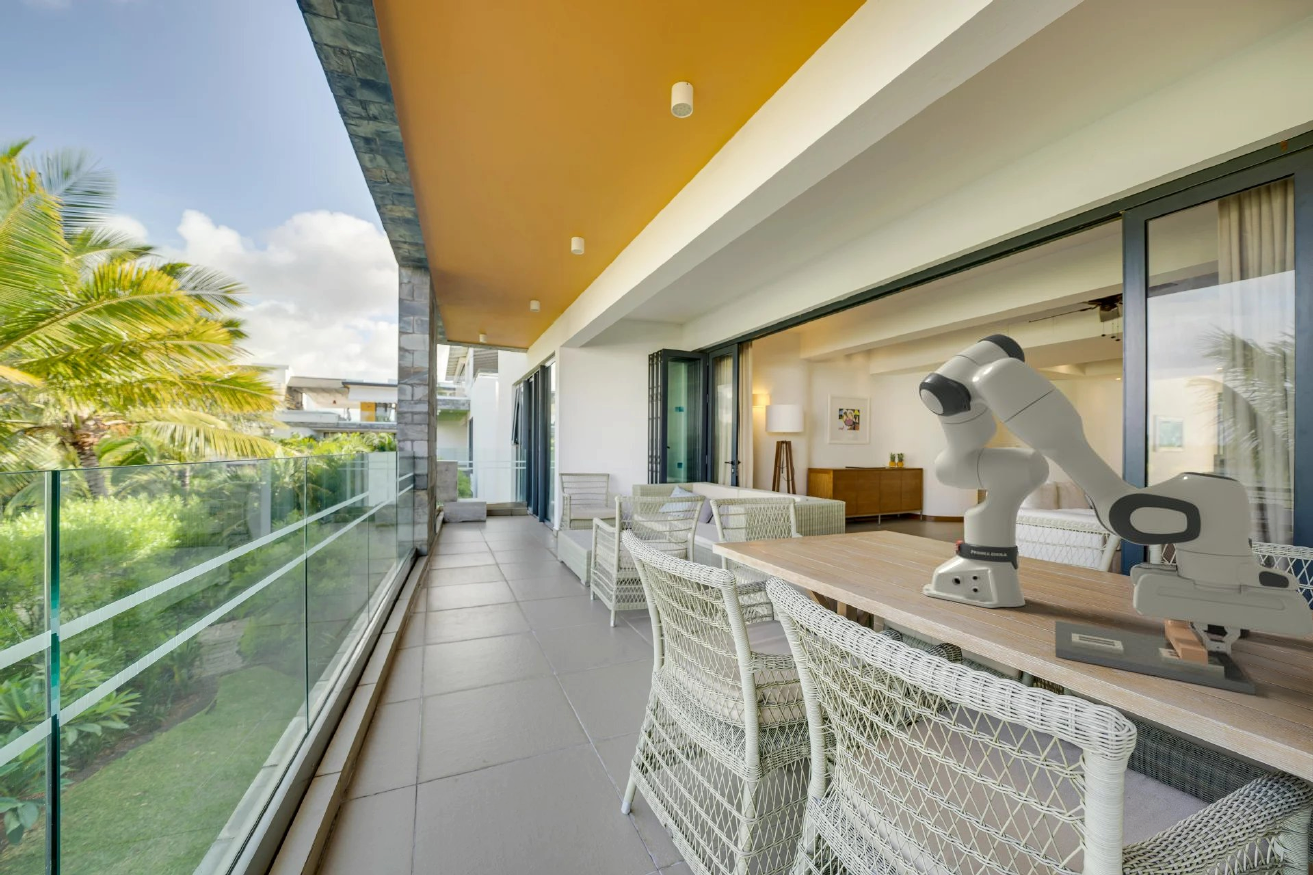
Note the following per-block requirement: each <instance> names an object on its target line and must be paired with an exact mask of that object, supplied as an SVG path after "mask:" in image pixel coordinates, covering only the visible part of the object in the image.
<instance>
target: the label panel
mask: <svg viewBox="0 0 1313 875" xmlns="http://www.w3.org/2000/svg"><path fill="white" fill-rule="evenodd" d="M1054 624H1055V626H1054V628H1055V635H1054V636H1055V638H1054V639H1055V640H1054V642H1055V645H1054V647H1055V648H1054V649H1055V657H1056V658H1061V659H1066V660H1071V661H1077V662H1079V663H1080V662H1082V663H1085V664H1087V663H1088V664H1091V665H1096V666H1097V665H1098V666H1102V667H1106V668H1113V669H1118V670H1123V671H1128V672H1133V673H1139V674H1143V673H1144V675H1148V674H1149V676H1153V675H1156V676H1155V677H1159V678H1164V679H1169V680H1176V681H1179V680H1181V681H1180V682H1184V683H1190V682H1191V684H1194V685H1202V686H1206V687H1211V688H1216V689H1217V688H1218V689H1221V688H1222V689H1221V690H1226V691H1232V692H1238V693H1243V694H1248V695H1253V696H1255V695H1256V694H1255V692H1256V691H1255V690H1256V689H1255V684H1254V683H1253V682H1252V680H1251V679H1250V678H1249V677H1248V676H1247V675H1246V674H1245V672H1244V671H1243V670H1242V669H1241V668H1240V667H1239V666H1238V664H1236V663H1235V661H1234V660H1233V659H1232V658H1231V656H1229V655H1230V654H1226V653H1220V652H1214V651H1207V652H1208V664H1204V663H1199V662H1193V661H1187V660H1182V659H1181V658H1180V656H1179V655H1178V653H1177V651H1176V650H1175V648H1174V646H1173V645H1172V643H1169V642H1167V641H1166V639H1165V637H1161V636H1156V635H1148V634H1142V633H1138V632H1137V633H1134V632H1129V631H1122V630H1118V629H1117V630H1116V629H1112V628H1111V629H1110V628H1105V627H1099V626H1098V627H1097V626H1092V625H1085V624H1078V623H1073V622H1066V621H1065V622H1064V621H1059V620H1055V623H1054ZM1201 644H1202V645H1203V643H1201Z"/></svg>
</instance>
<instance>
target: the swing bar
mask: <svg viewBox="0 0 1313 875" xmlns="http://www.w3.org/2000/svg"><path fill="white" fill-rule="evenodd" d="M1164 631H1165V632H1164V635H1165V637H1164V638H1165V639H1166V641H1167V642H1169V643H1172V645H1173V646H1174V648H1175V650H1176V651H1177V653H1178V655H1179V656H1180V658H1181V659H1182V660H1187V661H1193V662H1199V663H1204V664H1208V652H1207V650H1206V649H1205V648H1204V647H1203V645H1202V644H1203V643H1201V641H1200V640H1199V639H1198V637H1197V636H1196V635H1195V633H1194V632H1193V631H1192V630H1191V629H1190V622H1189V621H1182V620H1174V619H1167V618H1164Z"/></svg>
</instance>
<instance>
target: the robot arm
mask: <svg viewBox="0 0 1313 875" xmlns="http://www.w3.org/2000/svg"><path fill="white" fill-rule="evenodd" d="M918 393H919V397H920V399H921V401H922V402H923V404H924V405H925V406H926V408H927V409H929V411H931V412H932V413H933V414H935V415H937V417H938V420H939V422H940V425H941V426H942V427H941V428H942V430H943V432H944V434H945V437H946V447H945V449H944V450H942V451H940V452H939V453H938V454H937V457H936V458H935V461H934V463H933V464H934V465H933V471H934V474H935V477H936V478H937V480H938V481H939V483H940V484H942V485H944V486H948V487H952V488H957V489H961V490H963V489H965V490H980V491H981V490H983V491H987V492H986V497H985V499H984V500H983V501H982V502H979V503H978V504H977V503H976V504H975V505H973V506H971V507H969V508H968V509H967V510H966V511H965V513H964V516H963V527H964V528H963V529H964V530H963V531H964V532H963V533H964V534H963V537H964V538H963V539H964V540H958V541H957V542H956V543H955V554H956V555H955V556H954V557H952V558H950V559H948V560H946V561H945V562H943V563H942V564H940V565H939V566H937V567H936V569H934V571H933V575H932V580H931V582H930V583H927V584H925V585H924V586H923V588H922V593H923V594H924V595H925V596H928V597H932V598H936V599H941V600H948V601H952V602H958V603H963V604H967V605H973V606H978V607H982V608H987V609H988V608H989V609H991V608H1001V607H1003V608H1004V607H1005V608H1012V607H1013V608H1015V607H1022V606H1025V605H1026V601H1025V599H1024V598H1025V597H1024V595H1023V591H1022V588H1021V584H1020V579H1019V577H1020V576H1019V571H1018V570H1019V566H1020V553H1019V548H1018V545H1016V541H1017V540H1016V536H1017V533H1016V532H1017V518H1018V514H1019V510H1020V508H1021V506H1022V504H1023V502H1024V501H1025V500H1026V499H1027V498H1028V497H1029V496H1030V495H1031V494H1032V493H1034V492H1035V491H1037V490H1039V489H1040V488H1041V487H1042V486H1044V484H1046V482H1047V480H1048V478H1049V475H1050V466H1049V462H1048V460H1047V458H1048V459H1049V460H1051V461H1053V463H1055V464H1056V465H1058V467H1059V468H1061V469H1062V471H1063V472H1064V473H1065V474H1066V475H1067V476H1068V477H1069V478H1070V479H1071V480H1072V481H1073V482H1074V483H1075V484H1076V485H1077V486H1078V487H1079V488H1080V489H1081V490H1082V491H1083V492H1084V494H1085V495H1086V496H1087V497H1088V498H1089V500H1090V502H1091V504H1092V507H1093V510H1094V514H1095V516H1096V519H1097V521H1098V523H1099V524H1100V525H1101V526H1102V527H1103V529H1104V530H1106V531H1107V532H1108V533H1111V534H1112V535H1114V536H1116V537H1118V538H1121V539H1123V540H1125V541H1127V542H1128V543H1132V544H1135V545H1140V546H1157V545H1171V544H1174V545H1175V563H1176V564H1170V563H1167V564H1166V563H1153V562H1148V561H1147V562H1146V561H1144V562H1141V563H1139V564H1135V565H1133V566H1132V567H1131V568H1130V570H1129V573H1130V574H1129V575H1130V576H1129V577H1130V582H1131V583H1132V584H1133V585H1134V588H1133V598H1132V607H1133V609H1134V610H1135V611H1136V612H1137V613H1138V614H1140V615H1142V616H1146V617H1152V618H1162V619H1165V618H1167V619H1174V620H1182V621H1189V623H1190V622H1193V626H1194V627H1195V629H1196V632H1197V633H1198V634H1199V636H1201V638H1202V644H1203V647H1204V648H1205V649H1206V650H1207V651H1214V652H1220V653H1226V654H1228V655H1231V654H1232V645H1233V644H1234V643H1235V642H1236V641H1237V640H1238V639H1239V638H1238V637H1239V636H1240V629H1246V630H1250V631H1254V632H1262V633H1268V634H1276V635H1284V636H1290V637H1291V636H1292V637H1298V638H1308V637H1310V636H1311V635H1312V634H1313V616H1312V612H1311V607H1310V605H1309V602H1308V600H1307V599H1306V597H1305V596H1304V595H1303V594H1302V593H1300V592H1299V591H1297V590H1299V589H1300V586H1301V584H1300V583H1301V581H1300V579H1299V578H1298V577H1296V576H1295V575H1294V574H1292V573H1289V572H1287V571H1285V570H1282V569H1279V568H1275V567H1272V566H1270V565H1267V564H1264V563H1258V562H1255V561H1254V552H1253V550H1252V549H1253V548H1250V545H1249V538H1250V533H1251V531H1252V529H1253V528H1252V527H1253V526H1252V515H1251V514H1252V513H1251V508H1250V506H1251V505H1250V501H1249V497H1248V496H1249V495H1248V493H1247V490H1246V488H1245V486H1244V485H1243V484H1242V482H1240V481H1238V480H1237V479H1235V478H1233V477H1229V476H1225V475H1219V474H1213V473H1212V474H1210V473H1202V472H1198V471H1197V472H1195V471H1184V472H1180V473H1178V474H1177V475H1176V476H1173V477H1171V478H1169V479H1167V480H1165V481H1161V482H1159V483H1156V484H1152V485H1150V486H1147V487H1142V488H1141V487H1137V486H1135V485H1133V484H1131V483H1129V482H1128V481H1126V480H1125V479H1123V478H1122V477H1121V476H1119V474H1118V473H1116V471H1115V470H1114V469H1113V468H1111V467H1110V465H1108V463H1107V462H1106V461H1105V460H1104V459H1103V458H1102V457H1101V456H1100V455H1099V454H1098V453H1097V452H1096V451H1095V449H1093V448H1092V446H1091V445H1090V442H1088V439H1087V437H1086V435H1085V432H1084V427H1083V419H1082V417H1081V415H1080V413H1079V412H1078V410H1077V409H1076V407H1075V405H1073V404H1072V401H1071V400H1069V398H1068V397H1067V396H1066V395H1065V394H1064V393H1063V392H1062V391H1061V390H1060V389H1059V388H1057V386H1055V385H1054V383H1052V382H1051V381H1050V380H1049V379H1048V378H1046V377H1045V376H1044V375H1042V373H1040V372H1039V371H1038V370H1036V369H1034V367H1032V366H1030V365H1029V364H1028V363H1026V358H1025V353H1024V349H1022V346H1021V345H1020V344H1019V343H1018V342H1017V341H1016V340H1015V339H1013V338H1011V337H1009V336H1007V335H1004V334H1001V333H996V334H995V333H994V334H992V335H989V336H985V337H983V338H981V339H980V340H978V342H976V343H975V344H973V345H970V346H969V347H967V348H965V349H963V350H961V351H960V352H958V353H957V354H955V355H954V356H952V357H951V358H950V359H949V360H948V361H946V362H945V363H943V364H942V365H941V366H940V367H938V368H937V369H936V370H935V371H934V372H931V373H929V374H928V375H927V376H926V377H925V378H924V379H922V381H921V382H920V384H919V387H918ZM995 417H996V418H997V419H998V420H999V421H1000V423H1001V424H1003V426H1004V427H1005V428H1006V429H1007V430H1009V432H1011V434H1013V435H1014V436H1015V437H1017V439H1019V440H1020V441H1021V442H1023V443H1024V444H1025V445H1027V446H1028V447H1030V448H1025V447H1017V446H1011V447H1010V446H1009V447H1007V446H1006V447H1005V446H1004V447H1003V446H1002V447H998V446H997V447H988V446H987V447H986V446H985V445H988V443H989V442H991V441H992V440H993V439H994V437H995V436H996V434H997V431H998V430H997V429H998V424H997V421H996V419H995ZM1031 448H1032V449H1031ZM1207 624H1210V625H1218V626H1224V628H1225V630H1226V631H1227V632H1228V634H1227V635H1226V636H1223V638H1222V639H1217V638H1209V637H1208V635H1207V633H1205V632H1204V631H1203V630H1208V628H1207ZM1195 629H1194V630H1195Z"/></svg>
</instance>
